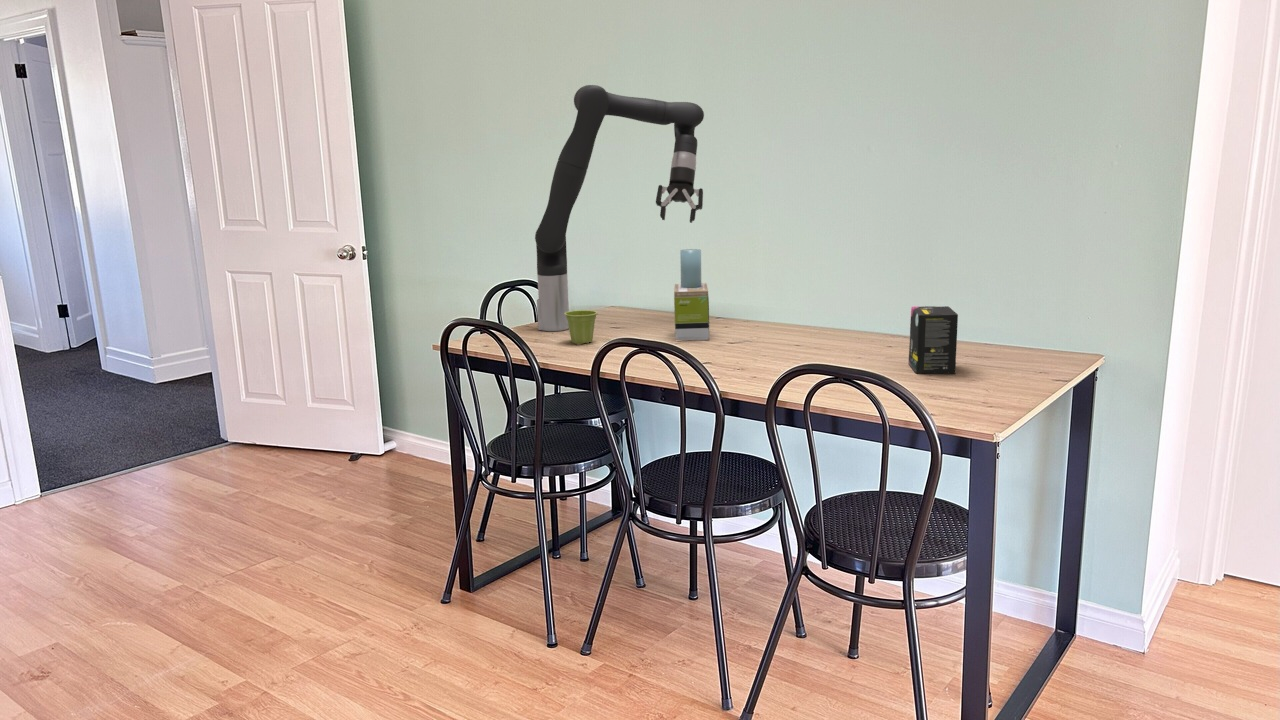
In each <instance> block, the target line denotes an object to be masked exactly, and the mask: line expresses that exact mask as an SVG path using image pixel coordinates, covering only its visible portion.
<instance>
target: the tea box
mask: <svg viewBox="0 0 1280 720" xmlns="http://www.w3.org/2000/svg"><path fill="white" fill-rule="evenodd" d="M709 299H710V298H709V289H708V284H707V282H701V287H696V288H684V287H681V283H675V284H674V293H673V301H674V328H675V329H674V331H675V333H674V334H675V335H674V336H675V341H676V340H700V341H709V340H710V302H709V301H710V300H709Z"/></svg>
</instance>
